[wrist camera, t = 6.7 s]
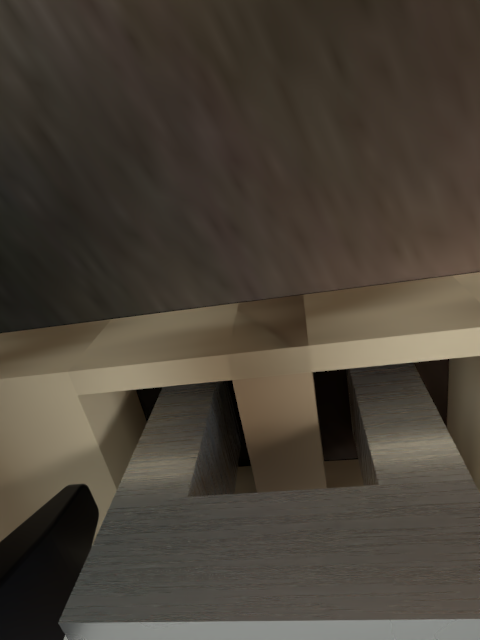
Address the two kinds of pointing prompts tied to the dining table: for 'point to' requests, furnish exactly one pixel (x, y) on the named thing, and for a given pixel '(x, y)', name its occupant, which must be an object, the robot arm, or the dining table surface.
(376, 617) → the clip
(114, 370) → the rail
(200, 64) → the dining table surface
